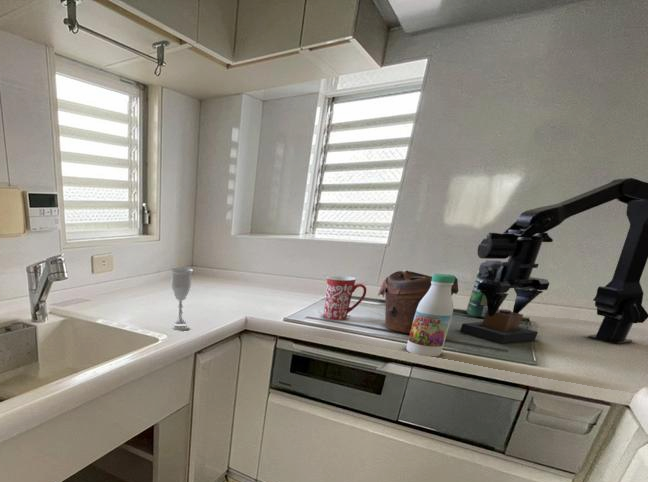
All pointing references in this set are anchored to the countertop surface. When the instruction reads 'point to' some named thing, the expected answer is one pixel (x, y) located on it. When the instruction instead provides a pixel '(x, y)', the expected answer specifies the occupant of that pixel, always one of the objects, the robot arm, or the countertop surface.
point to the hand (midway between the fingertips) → (502, 314)
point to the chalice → (181, 290)
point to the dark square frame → (498, 333)
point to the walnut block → (502, 320)
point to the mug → (340, 296)
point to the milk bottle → (432, 318)
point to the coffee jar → (480, 294)
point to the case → (405, 297)
